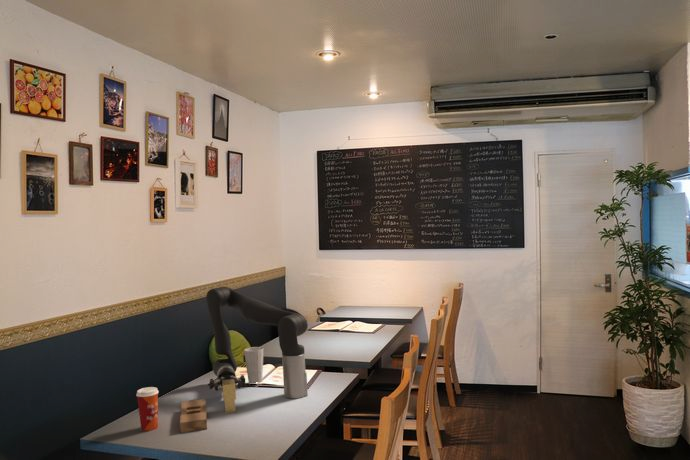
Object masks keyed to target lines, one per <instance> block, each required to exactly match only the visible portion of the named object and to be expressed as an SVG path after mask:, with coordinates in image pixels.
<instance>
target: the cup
mask: <svg viewBox="0 0 690 460" xmlns="http://www.w3.org/2000/svg"><path fill="white" fill-rule="evenodd" d="M243 352H244V358H245V365H246V373H247V379H248V381H247V382H248V384H249V383H256V382H261V381H262V382H263V373H264V347H262V346H252V347H250V346H249V347H247V348H244V350H243Z"/></svg>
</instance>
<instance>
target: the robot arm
mask: <svg viewBox="0 0 690 460" xmlns="http://www.w3.org/2000/svg"><path fill="white" fill-rule="evenodd" d="M205 296H206V297H205V298H206V305H207V306H206V307H207V310H208V314H209V318H210V321H211V326H212V330H213V337H214V347H215V348H214V349H215V350H214V351H215V353H216V354H217V355H219V356H220V355H221V356H225V357H227V358H220V359H216V360H215V361H214V362H213V364H212V372H213V374H214V375H215V376H216V380H215V379H213V378H210V379H209V389H210V390H212V389H214V390H215V391H216V392H218V391H219V389H221V388H222V389H223V387H222V380H229V379H234V381H235V387H237V389H241V387H242V385H243V386H245V385H246V384H247V383H246V376H245V375H243V374H241V375H240V377H237V376H236V371H237V368H238V366H237V365H238V364H237V362H236V359H235V357H234V354H233V351H232V349H233V348H232V342H231V341H232V340H231V333H230V330H229V328H228V327H227V325H226V324H225V323H224V319H222V313H221V309H222V308H225V307H226V308H227V307H229V308H233V309H236V310H238V311H239V312H240V314H241V316H242V317H243V318H245V319H247V320H249V321H251V322H253V323H256V324H261V325H268V326H269V325H270V326H277V332H278V342H279V348H280V350H281V357H282V358H281V359H282V361H281V362H282V375H283V379H282V380H283V394H284V395H283V396H284V397H285V398H287V399H299V398H303V397H307V396H308V395H309V393H308V376H307V375H308V374H307V372H306V357H305V346H304V345H303V344H299V341H298V337H299V336H302V335H303V334H304V333H306V332H307V330H308V327H309V325H308V321H307V319H306V318H305V316H303V315H302V314H300V313H297V312H296V313H295V312H291V311H288V310H284V309H281V308H279V307H276V306H274V305H271V304H268V303H266V302H264V301H261V300H259V299H256V298H253V297H250V296H247V295H244V294H242V293H239V292H238V291H236V290H234V289H232V288H230V287H229V286H219V287H215V288H211V289H209V290H208V291H207V292H206V295H205Z"/></svg>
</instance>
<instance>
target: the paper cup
mask: <svg viewBox="0 0 690 460" xmlns="http://www.w3.org/2000/svg"><path fill="white" fill-rule="evenodd" d="M159 392H160V391H159V390H158V387H154V386H148V387H142V388H140V389H137V391H136V395H135V396H136V398H137V404H138V405H137V406H138V414H139V422H140V429H141V431H143V432H151V431H154V430H157V429H158V425H159V423H158V422H159V417H158V416H159V397H158V396H159Z"/></svg>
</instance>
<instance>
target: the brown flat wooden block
mask: <svg viewBox="0 0 690 460" xmlns="http://www.w3.org/2000/svg"><path fill="white" fill-rule="evenodd" d="M180 407H181V408H180V416H179V417H180V419H179V420H180V421H179V427H180V428H179V429H180V433H187V432H195V431H201V430H202V431H203V430H208V423H207V422H208V421H207V403H206V398H203V399H201V398H200V399H193V400H187V401H186V400H185V401H181V406H180Z"/></svg>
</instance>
